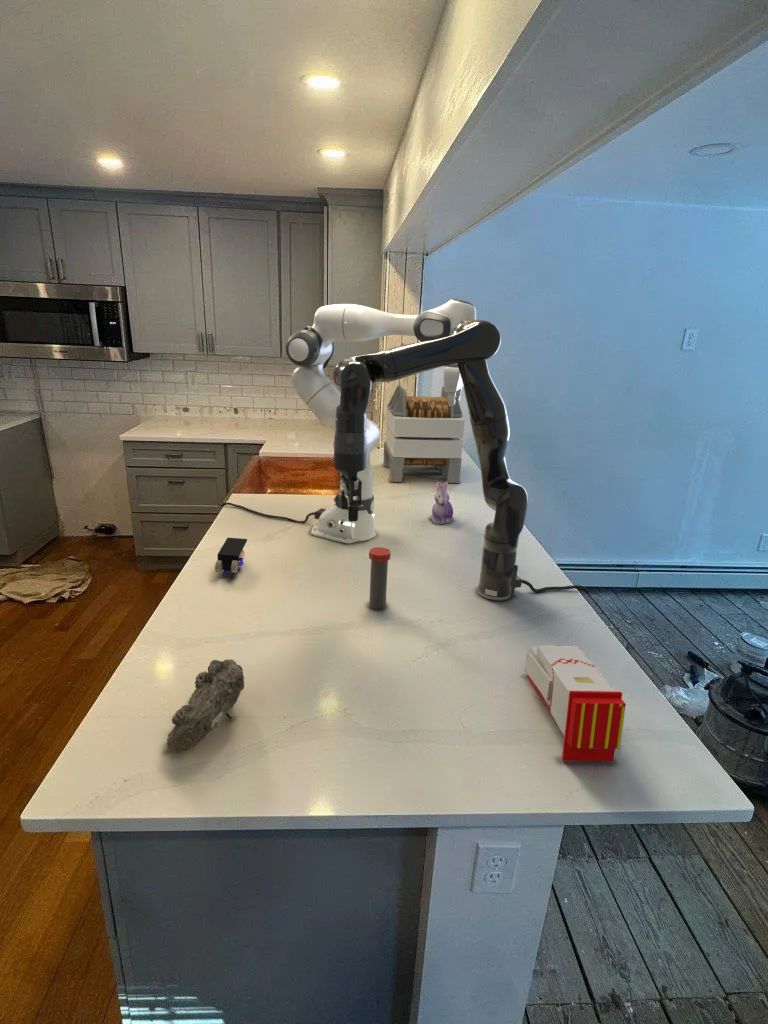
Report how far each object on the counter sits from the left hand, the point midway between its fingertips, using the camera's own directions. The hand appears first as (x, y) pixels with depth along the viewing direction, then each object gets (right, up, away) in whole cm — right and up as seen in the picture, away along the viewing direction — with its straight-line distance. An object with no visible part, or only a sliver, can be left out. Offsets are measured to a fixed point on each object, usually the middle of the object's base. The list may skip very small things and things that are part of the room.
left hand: (454, 403), depth 174 cm
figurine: (0, -37, +40) cm, 54 cm away
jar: (-23, -58, -23) cm, 67 cm away
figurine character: (-66, -50, -7) cm, 84 cm away
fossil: (-54, -72, -66) cm, 112 cm away
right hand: (-30, -34, -38) cm, 59 cm away
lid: (-23, -44, -28) cm, 57 cm away
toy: (+14, -73, -60) cm, 96 cm away
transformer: (-4, -15, +101) cm, 102 cm away
